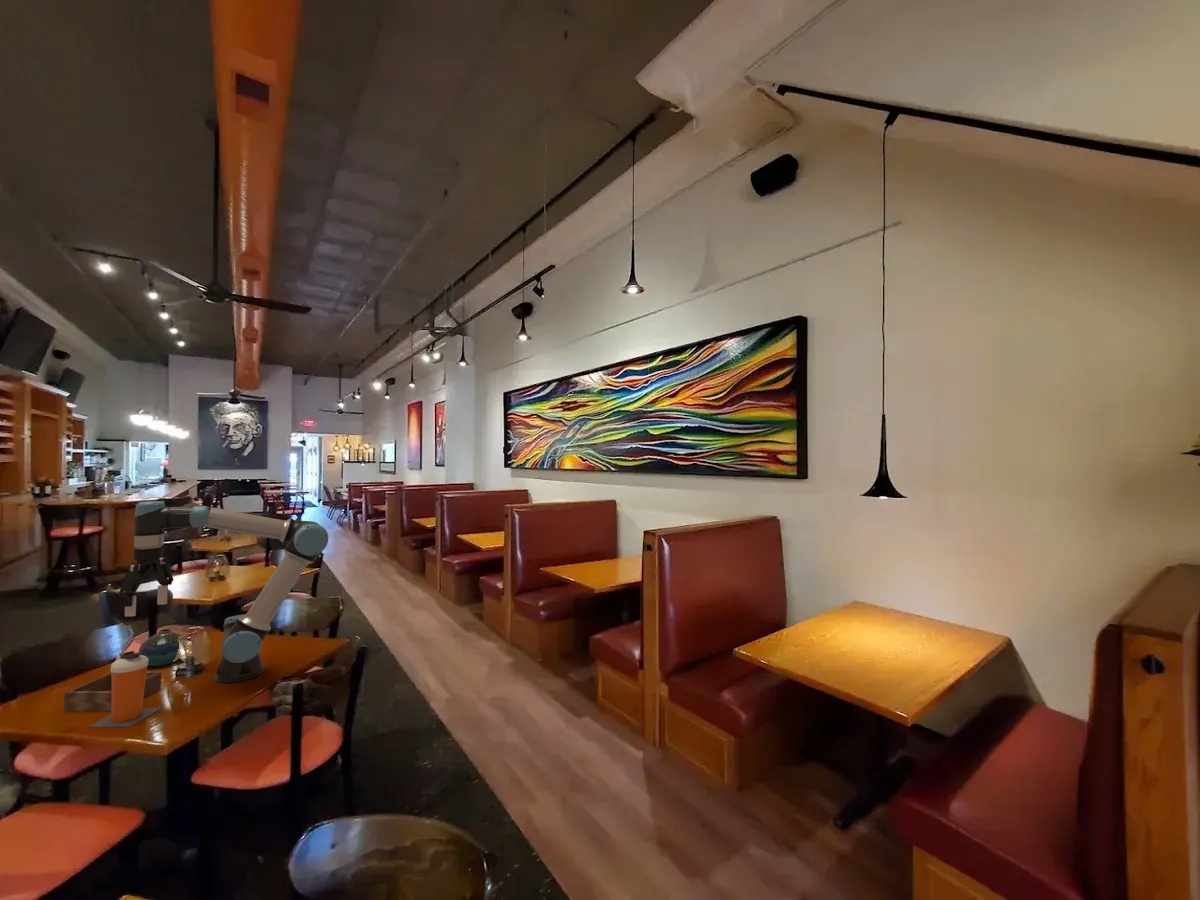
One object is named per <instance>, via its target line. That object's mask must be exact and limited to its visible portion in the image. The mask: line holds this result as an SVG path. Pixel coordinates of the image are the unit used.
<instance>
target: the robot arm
mask: <svg viewBox="0 0 1200 900" xmlns="http://www.w3.org/2000/svg"><path fill="white" fill-rule="evenodd" d="M134 511H135V513H134V534H133V535H134V540H133V547H134V549H133V560H134V561H136V564H129V565H127V569H126V570H127V571H126V575H125V577H124V579H123V582H122V585H121V586H120V589H119V592H118V595H117V596H118V597H124V600H123V601H124V602H123V603H124V604H123V605H124V617H136V616H137V613H136V612H137V595H136V592H138V591H137V590H138V589H139V587H140V586H141V584H142V582H143V581H144V579H146V578H147V577H148V576H150V575H152V576H153V578H154V579H155V580H156V581H157V583H158V584H159V585H158V586H157V597H156V598H157V599H156V603H157V605H158V606H159V605H167V604H168V593H169V586H171V585H172V584H173V582H174V577H173V575H172V571H171V569H170V566H169V564H168V557H164V547H163V545H164V544H165V529H166V530H167V529H185V528H186V529H189V528H194V529H196V528H203V527H205V528H210V529H217V530H224V531H229V532H236V533H241V534H247V535H253V536H260V537H264V538H265V537H266V538H270V539H276V540H279V541H280V542H281V543H285V544H286V546H285V547H284V549H283V552H284V557H283V558H282V560H281V561H280V563H279V564H278V565H277V567H276V569H274V571H273V573H272V574H271V576H270V578H268V581H267V582H266V583H265V585H264V587H263V588H262V590H261V591H260V592H259V594H258V596H257V597H256V599H255V600H254V602H253V604H251V606H250V608H249V609H248V611H247V612H246V614H245V613H244V614H238V615H233V616H229V617H226V618H225V619H224V623H223V638H222V644H221V646H220V647H221V648H220V649H221V650H220V651H221V653H222V658H221V661H220V663H219V665H218V667H217V670H216V673H215V681H216V682H217V683H222V684H233V683H239V682H245V681H248V679H249V680H251V678H252V679H254V678H256V677H255V676H257V675H259V674H260V673H261V672H262V671H263V672H264V663H263V661H262V657H261V654H260V652H261V649H262V646H263V642H264V640H265V639H266V637H267V636H268V634H269V632H270V631H271V629H272V628H271V624H270V623H271V621H272V620H273V618H274V617H275V615H276V614H277V612H278V610H280V608H281V606H282V605H283V604H284V602H285V600H286V599H287V597H288V595H289V593H290V592H291V590H292V589H293V587H294V586H295V585H296V583H297V581H298V580H299V578H300V576H301V575H302V574H303V572H304V570H305V569H306V568H307V566H308V565H310V564H313V563H314V562H315V560H316V559H317V558H318V556H319V554H320V553H322V552H323V551H324V550H325V549H326V547H327V546H328V544H329V534H328V532H327V530H326V528H325V527H324V526H323V525H321V524H320V523H318V522H316V521H310V520H297V519H292V518H288V519H286V520H285V519H284V520H283V519H278V518H272V517H268V516H261V515H256V514H251V513H246V512H245V513H244V512H240V511H234V510H229V509H223V508H217V507H213V506H212V507H211V506H207V505H201V504H199V503H195V502H190V503H185V504H184V505H182V506H166V503H165V501H161V500H160V501H157V500H156V501H152V500H151V501H140V502H139V503H138V502H137V504H136V506H135V510H134ZM260 675H261V674H260ZM260 675H259V676H260ZM253 677H254V678H253ZM257 677H258V676H257Z"/></svg>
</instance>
